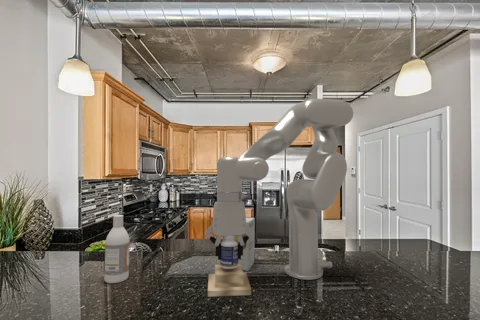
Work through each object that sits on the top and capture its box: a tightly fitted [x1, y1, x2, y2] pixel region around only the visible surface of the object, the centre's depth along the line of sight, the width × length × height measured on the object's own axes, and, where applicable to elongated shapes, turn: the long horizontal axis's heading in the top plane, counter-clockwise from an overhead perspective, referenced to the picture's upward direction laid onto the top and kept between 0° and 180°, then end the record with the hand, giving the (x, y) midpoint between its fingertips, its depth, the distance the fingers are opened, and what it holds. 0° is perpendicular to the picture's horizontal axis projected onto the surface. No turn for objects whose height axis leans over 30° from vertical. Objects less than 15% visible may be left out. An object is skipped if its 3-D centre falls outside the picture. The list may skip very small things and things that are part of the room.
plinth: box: [207, 264, 252, 298], centre depth 76 cm, size 12×12×5 cm
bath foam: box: [103, 214, 131, 284], centre depth 81 cm, size 7×7×20 cm
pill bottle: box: [219, 236, 238, 269], centre depth 76 cm, size 5×5×10 cm
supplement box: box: [235, 217, 256, 272], centre depth 94 cm, size 10×9×17 cm
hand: (229, 257), depth 76 cm, fingers closed on pill bottle, 5 cm apart
